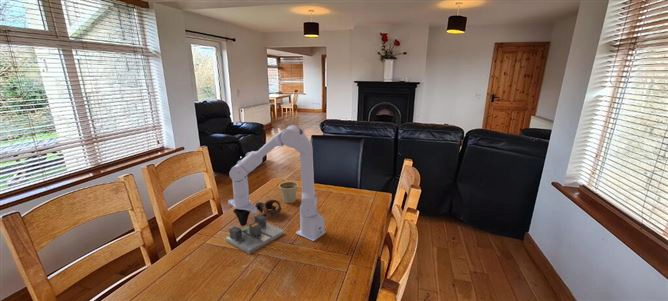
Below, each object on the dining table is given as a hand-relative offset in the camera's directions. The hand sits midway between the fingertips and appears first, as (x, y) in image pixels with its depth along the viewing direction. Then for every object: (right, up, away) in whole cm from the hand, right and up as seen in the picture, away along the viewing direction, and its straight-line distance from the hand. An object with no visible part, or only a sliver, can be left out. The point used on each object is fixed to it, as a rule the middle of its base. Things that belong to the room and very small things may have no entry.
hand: (243, 224), depth 115 cm
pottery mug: (+7, 0, +15) cm, 17 cm away
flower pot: (+14, +4, +29) cm, 33 cm away
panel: (+6, -4, -3) cm, 8 cm away
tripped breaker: (+6, -2, -4) cm, 7 cm away
